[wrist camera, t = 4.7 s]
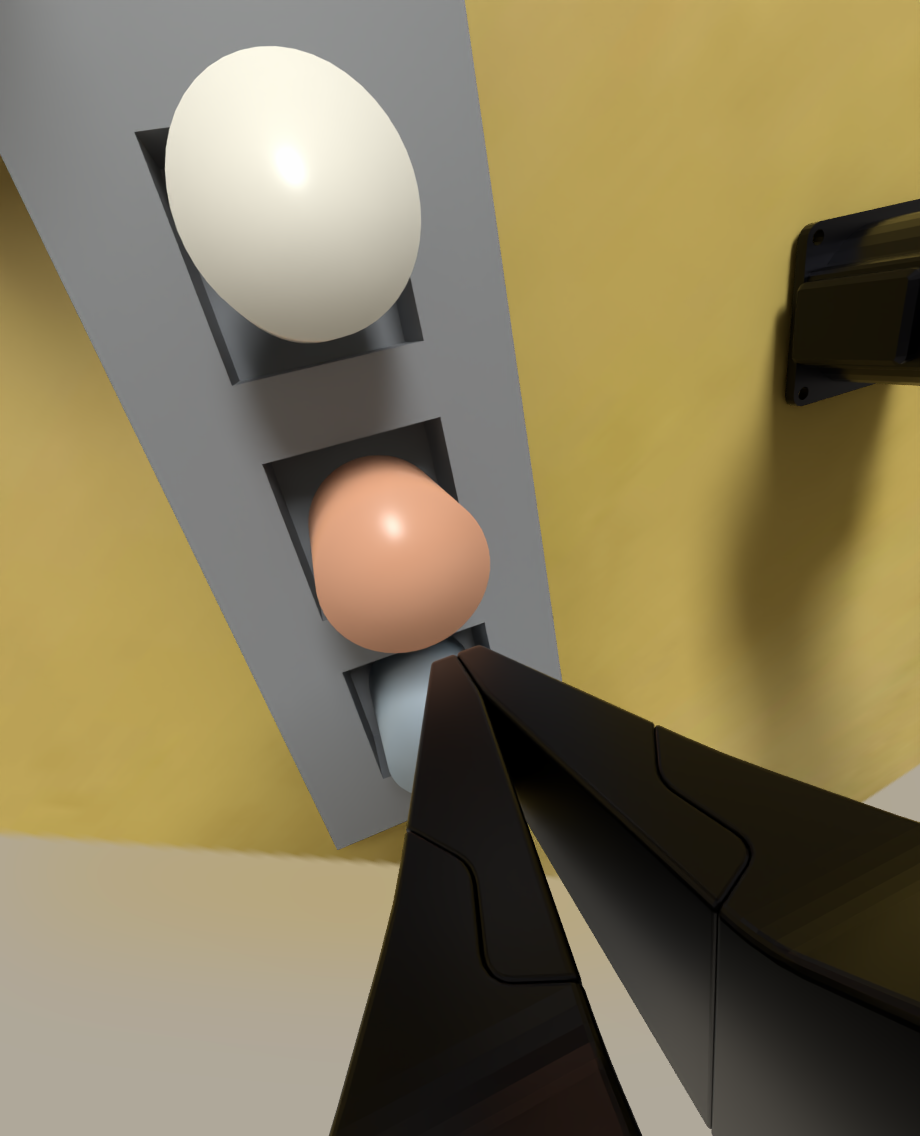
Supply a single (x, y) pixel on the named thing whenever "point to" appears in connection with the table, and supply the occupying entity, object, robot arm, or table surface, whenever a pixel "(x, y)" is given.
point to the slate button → (404, 704)
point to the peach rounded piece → (394, 556)
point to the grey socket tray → (279, 367)
